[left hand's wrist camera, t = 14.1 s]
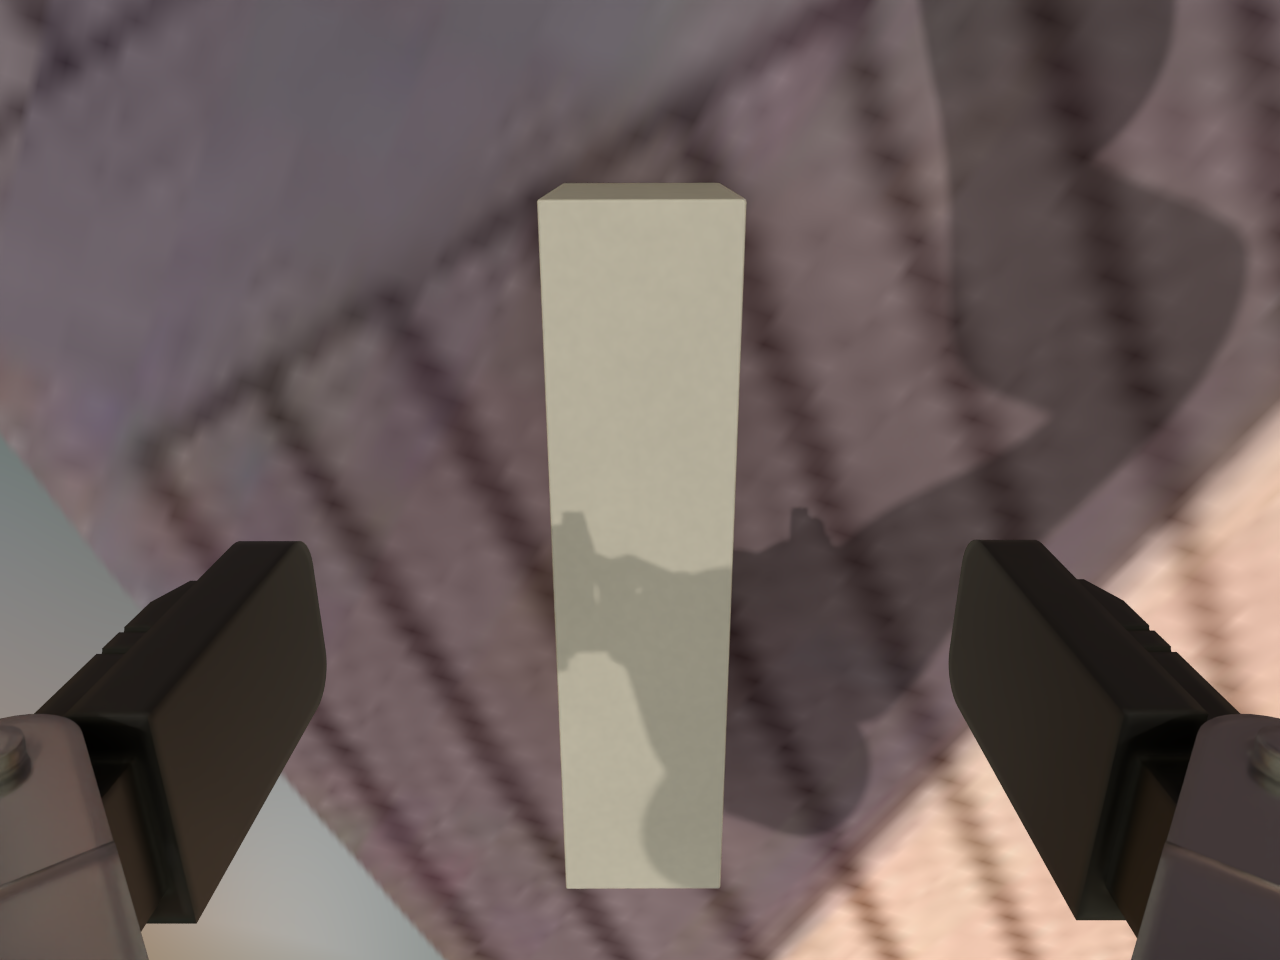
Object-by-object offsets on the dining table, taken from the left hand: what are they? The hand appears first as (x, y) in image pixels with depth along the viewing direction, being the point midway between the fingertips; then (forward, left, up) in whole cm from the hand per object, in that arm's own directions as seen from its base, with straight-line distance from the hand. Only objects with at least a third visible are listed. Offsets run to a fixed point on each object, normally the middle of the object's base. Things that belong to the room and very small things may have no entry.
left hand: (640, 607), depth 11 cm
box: (+7, -7, -28) cm, 29 cm away
